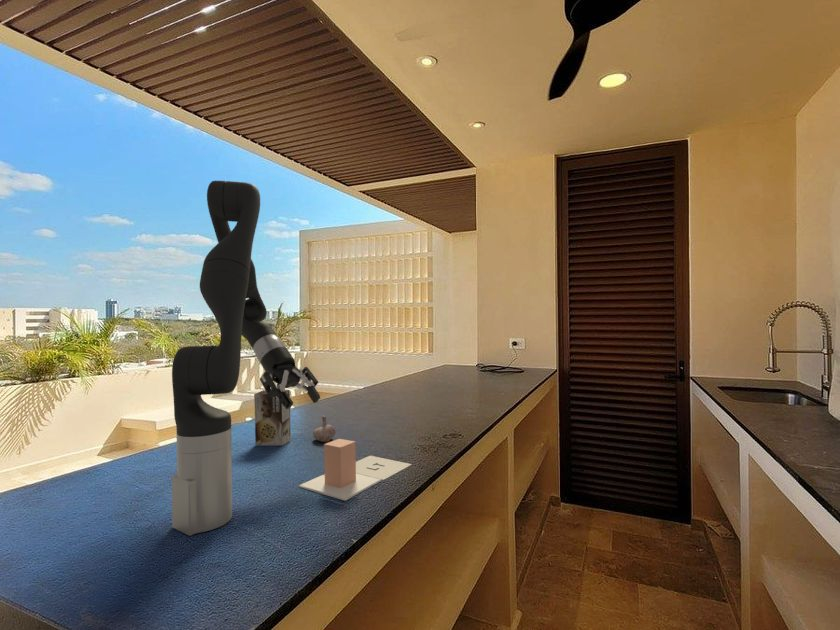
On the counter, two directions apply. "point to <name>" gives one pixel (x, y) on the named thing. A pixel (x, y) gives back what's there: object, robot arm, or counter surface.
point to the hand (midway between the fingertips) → (304, 403)
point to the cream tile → (379, 467)
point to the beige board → (340, 493)
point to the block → (340, 462)
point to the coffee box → (271, 420)
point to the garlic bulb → (324, 432)
